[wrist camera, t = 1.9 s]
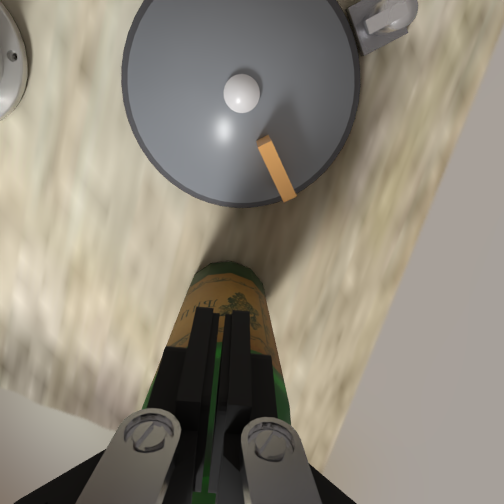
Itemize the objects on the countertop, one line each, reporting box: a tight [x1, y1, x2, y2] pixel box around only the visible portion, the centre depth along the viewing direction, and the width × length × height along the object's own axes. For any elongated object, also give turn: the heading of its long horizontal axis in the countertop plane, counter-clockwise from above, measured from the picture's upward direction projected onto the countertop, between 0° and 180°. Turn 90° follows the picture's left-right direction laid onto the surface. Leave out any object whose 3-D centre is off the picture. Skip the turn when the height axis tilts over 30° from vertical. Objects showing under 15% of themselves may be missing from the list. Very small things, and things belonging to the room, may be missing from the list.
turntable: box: [128, 0, 354, 203], centre depth 32 cm, size 19×19×6 cm
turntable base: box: [121, 0, 360, 208], centre depth 35 cm, size 21×21×2 cm
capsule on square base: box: [346, 0, 418, 56], centre depth 31 cm, size 5×4×6 cm
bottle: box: [142, 261, 291, 504], centre depth 31 cm, size 11×11×28 cm
